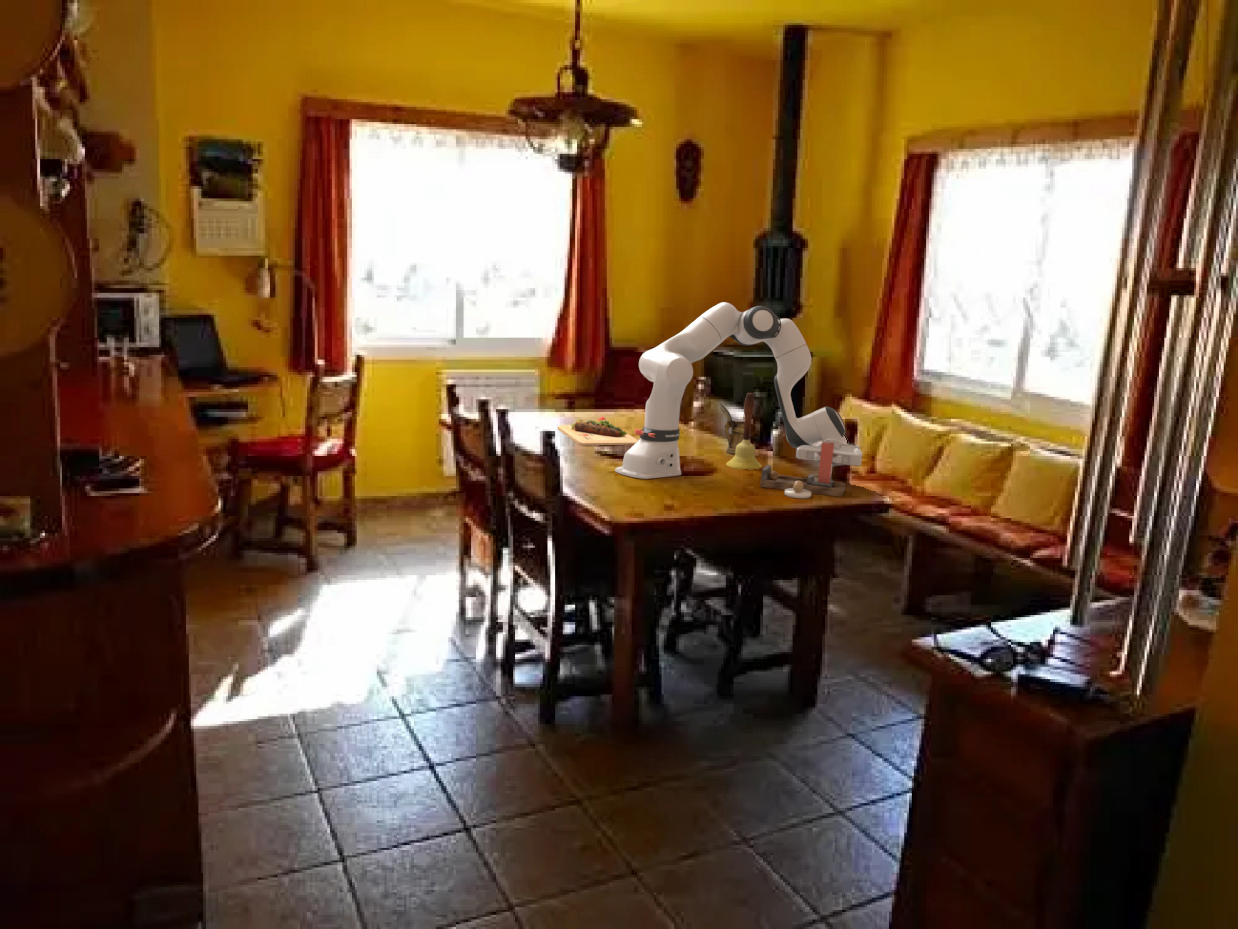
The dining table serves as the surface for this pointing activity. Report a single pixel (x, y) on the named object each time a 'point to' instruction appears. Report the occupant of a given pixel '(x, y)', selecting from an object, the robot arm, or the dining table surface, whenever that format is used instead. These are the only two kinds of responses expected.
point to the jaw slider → (824, 467)
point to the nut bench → (785, 482)
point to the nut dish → (797, 495)
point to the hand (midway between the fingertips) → (826, 459)
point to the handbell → (746, 441)
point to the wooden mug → (736, 431)
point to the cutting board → (596, 433)
